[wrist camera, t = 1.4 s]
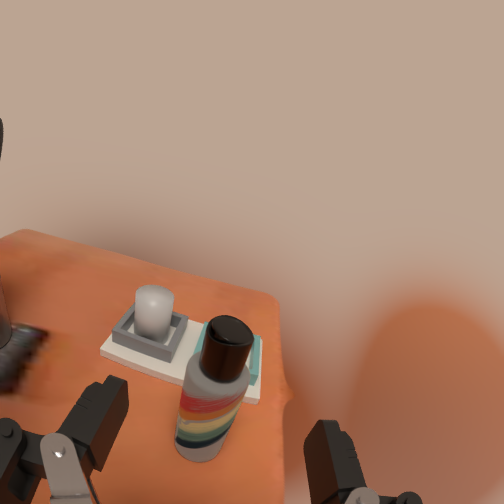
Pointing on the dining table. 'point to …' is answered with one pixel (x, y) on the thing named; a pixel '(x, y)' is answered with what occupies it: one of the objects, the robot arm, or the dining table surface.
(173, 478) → the dining table surface
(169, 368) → the tray
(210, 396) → the lotion bottle
